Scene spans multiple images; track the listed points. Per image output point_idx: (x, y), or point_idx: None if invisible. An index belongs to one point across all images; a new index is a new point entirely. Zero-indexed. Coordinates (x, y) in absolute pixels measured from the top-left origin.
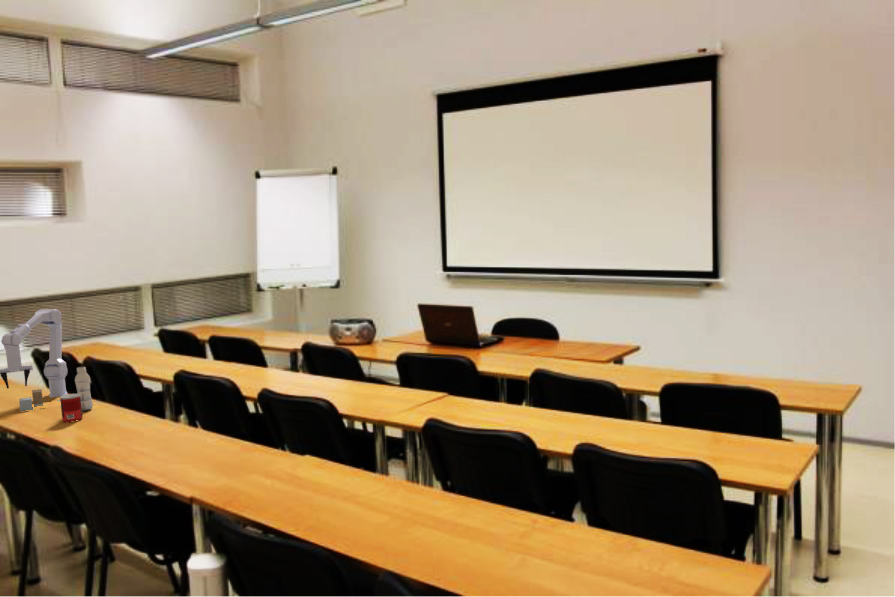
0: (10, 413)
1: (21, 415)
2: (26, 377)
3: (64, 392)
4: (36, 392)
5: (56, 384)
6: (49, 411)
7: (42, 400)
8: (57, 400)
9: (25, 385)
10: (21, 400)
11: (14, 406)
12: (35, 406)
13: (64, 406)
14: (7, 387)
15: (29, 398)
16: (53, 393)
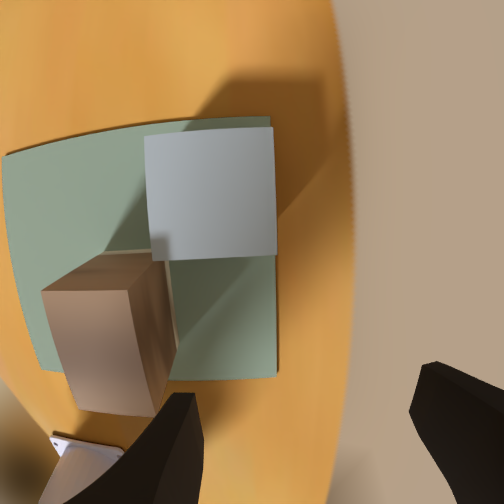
0: (332, 148)
1: (247, 25)
2: (110, 495)
3: (61, 457)
4: (87, 289)
5: (66, 493)
6: (72, 48)
7: (87, 262)
8: (52, 354)
9: (187, 397)
10: (248, 133)
11: (307, 378)
12: None
13: None
14: (442, 367)
15: (165, 191)
16: (101, 465)
